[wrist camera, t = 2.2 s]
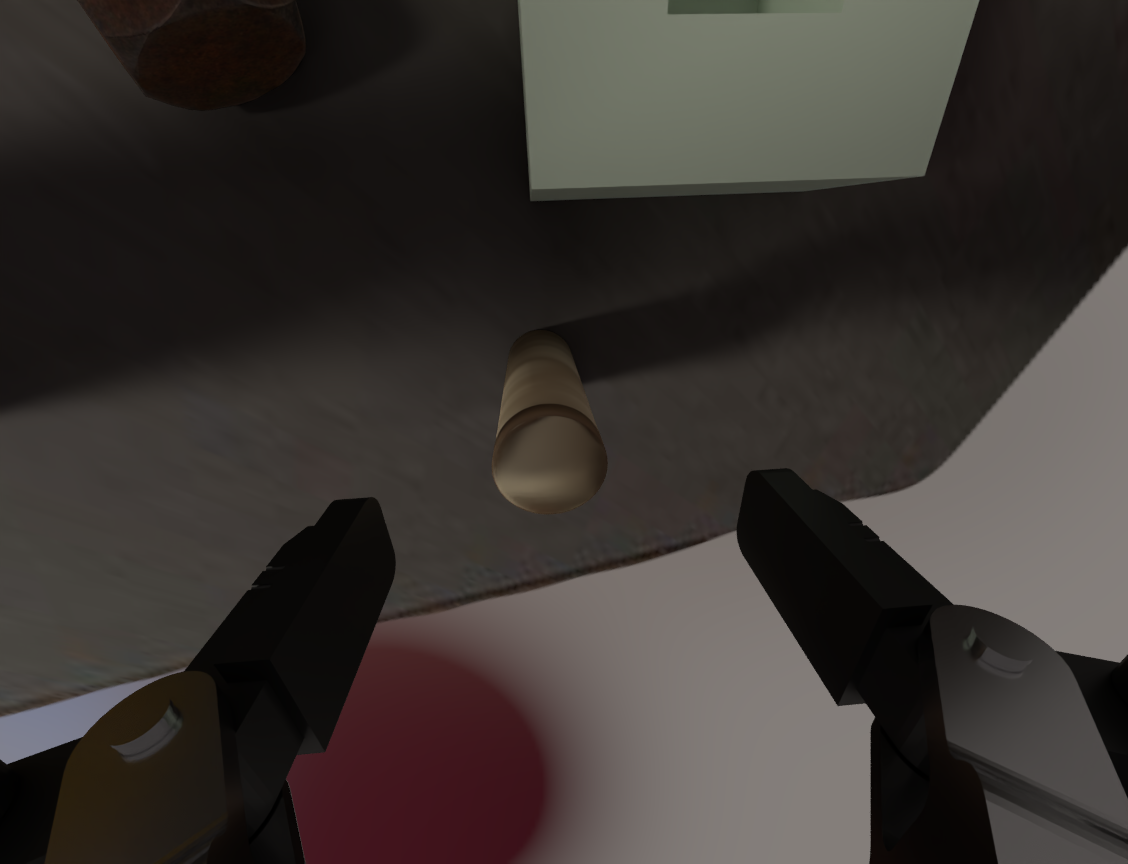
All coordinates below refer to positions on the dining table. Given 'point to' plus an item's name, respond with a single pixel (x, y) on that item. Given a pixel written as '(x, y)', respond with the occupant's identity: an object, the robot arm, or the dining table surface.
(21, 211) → the dining table surface
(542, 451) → the peg
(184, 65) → the bolt
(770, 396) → the dining table surface
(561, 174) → the socket block
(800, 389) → the dining table surface
